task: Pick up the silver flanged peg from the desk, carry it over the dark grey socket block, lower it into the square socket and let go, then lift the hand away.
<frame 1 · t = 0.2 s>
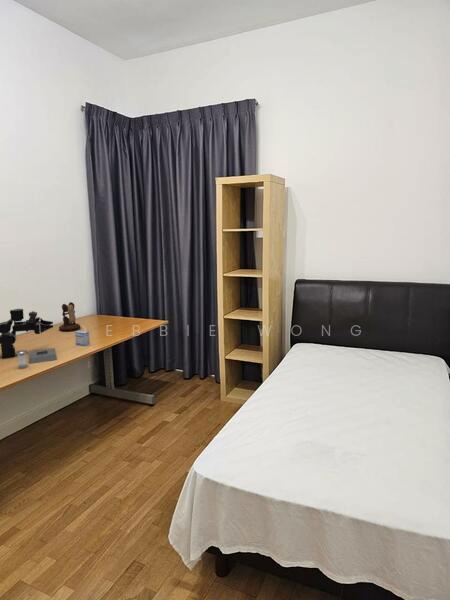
hand: (53, 324, 237), 17 cm above the table, tool horizontal, fingers open, 9 cm apart
silver flanged peg: (23, 367, 212), on the table
brown figurine: (70, 329, 290), on the table
medicine box: (82, 345, 252), on the table
socket block: (42, 357, 226), on the table
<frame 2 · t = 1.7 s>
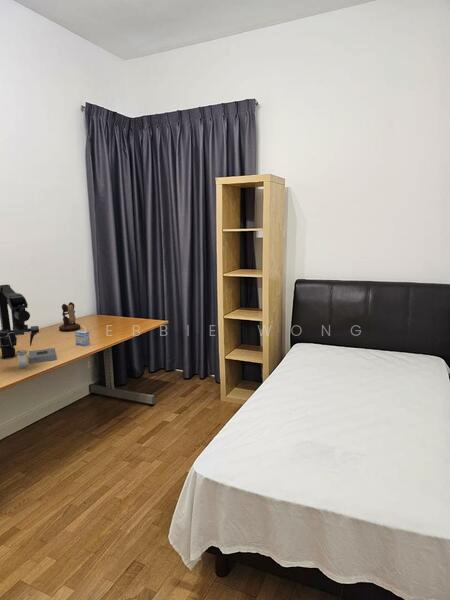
hand: (21, 346, 210), 11 cm above the table, tool pointing down, fingers open, 9 cm apart
nothing on the table moved.
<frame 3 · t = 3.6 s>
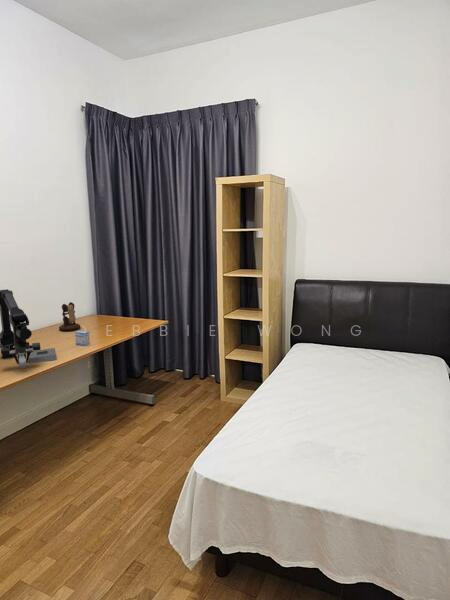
hand: (22, 363, 211), 2 cm above the table, tool pointing down, fingers closed on silver flanged peg, 4 cm apart
silver flanged peg: (23, 367, 212), on the table, touching gripper
everything else where it was.
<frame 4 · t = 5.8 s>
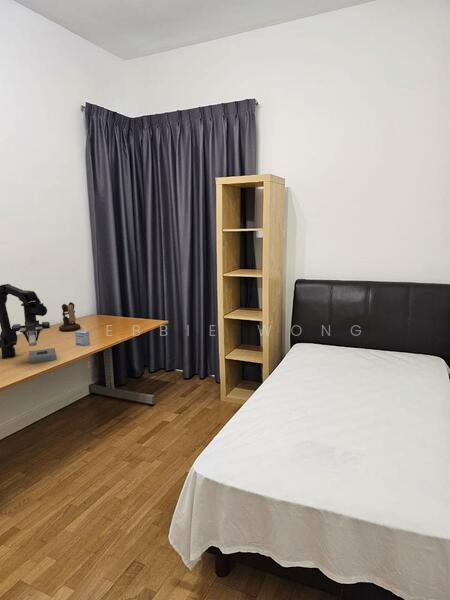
hand: (32, 341, 218), 12 cm above the table, tool pointing down, fingers closed on silver flanged peg, 4 cm apart
silver flanged peg: (32, 345, 218), point 10 cm above the table, touching gripper
everything else where it was.
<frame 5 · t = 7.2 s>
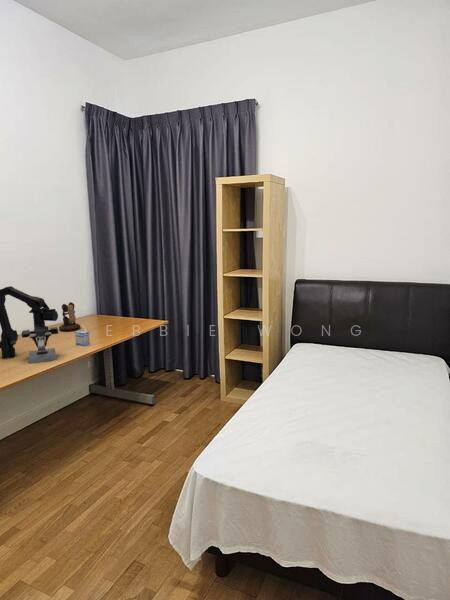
hand: (41, 346, 225), 7 cm above the table, tool pointing down, fingers closed on silver flanged peg, 4 cm apart
silver flanged peg: (41, 350, 226), point 5 cm above the table, touching gripper
everything else where it was.
when the fingers open (4 cm above the table, at t = 8.4 s): silver flanged peg drops 2 cm, resting in socket block.
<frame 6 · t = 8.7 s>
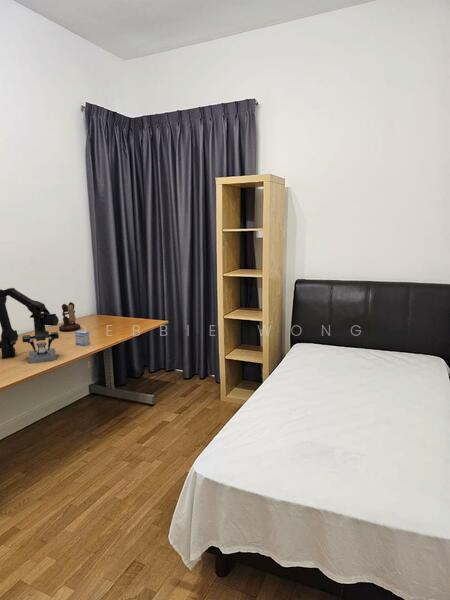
hand: (42, 351, 226), 4 cm above the table, tool pointing down, fingers open, 7 cm apart
silver flanged peg: (42, 358, 226), resting in socket block
everything else where it was.
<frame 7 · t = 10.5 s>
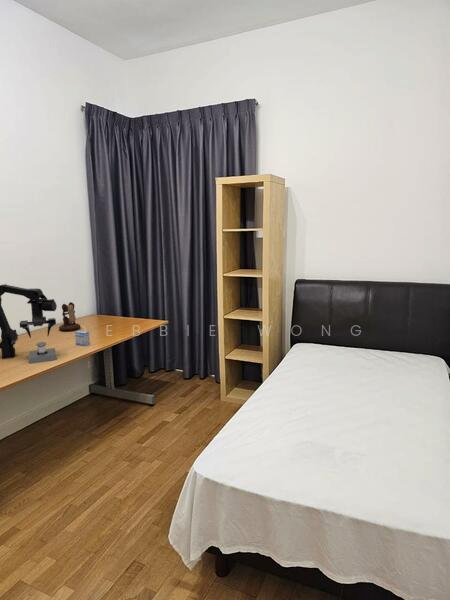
hand: (39, 337, 227), 12 cm above the table, tool pointing down, fingers open, 9 cm apart
nothing on the table moved.
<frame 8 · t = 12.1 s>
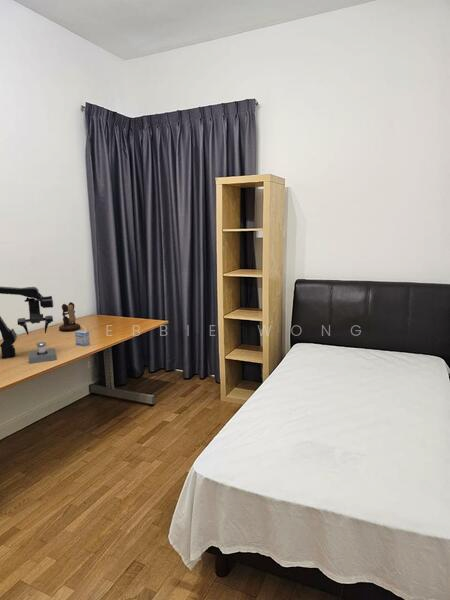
hand: (36, 334, 232), 12 cm above the table, tool pointing down, fingers open, 9 cm apart
nothing on the table moved.
at the end: silver flanged peg 0.1 cm off-centre on the socket block, point 0.0 cm above the socket block's base; silver flanged peg tilted 0°; the gripper is holding nothing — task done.
